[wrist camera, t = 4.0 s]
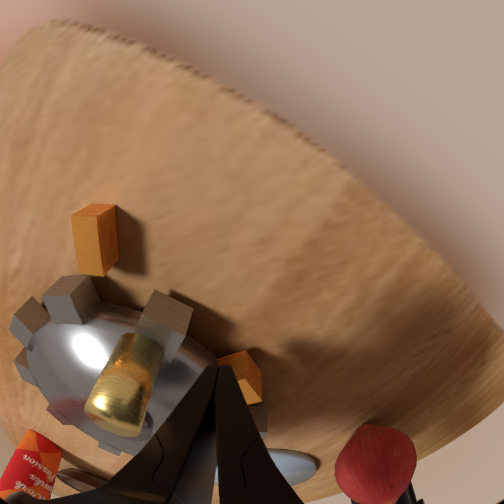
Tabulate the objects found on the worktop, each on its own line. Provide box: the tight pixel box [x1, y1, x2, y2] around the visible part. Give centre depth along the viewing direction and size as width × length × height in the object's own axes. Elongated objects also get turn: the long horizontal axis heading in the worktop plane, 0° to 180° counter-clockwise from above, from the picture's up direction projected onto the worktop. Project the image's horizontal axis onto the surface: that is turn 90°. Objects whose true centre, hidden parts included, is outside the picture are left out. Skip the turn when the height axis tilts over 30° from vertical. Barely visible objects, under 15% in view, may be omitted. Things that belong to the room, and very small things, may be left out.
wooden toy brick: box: [71, 204, 119, 277], centre depth 13 cm, size 8×15×2 cm, turn 175°
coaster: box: [214, 449, 316, 486], centre depth 20 cm, size 10×10×1 cm
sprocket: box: [9, 274, 268, 456], centre depth 12 cm, size 16×16×5 cm
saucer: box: [56, 469, 107, 493], centre depth 26 cm, size 15×15×3 cm
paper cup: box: [0, 430, 63, 501], centre depth 16 cm, size 8×8×14 cm
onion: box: [335, 424, 417, 504], centre depth 13 cm, size 6×6×8 cm
